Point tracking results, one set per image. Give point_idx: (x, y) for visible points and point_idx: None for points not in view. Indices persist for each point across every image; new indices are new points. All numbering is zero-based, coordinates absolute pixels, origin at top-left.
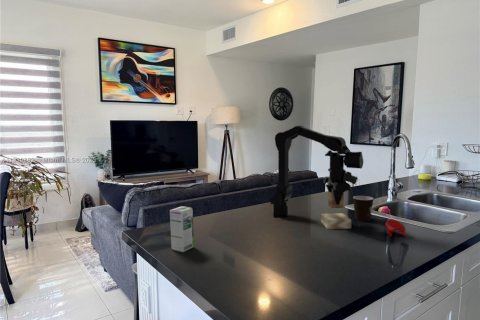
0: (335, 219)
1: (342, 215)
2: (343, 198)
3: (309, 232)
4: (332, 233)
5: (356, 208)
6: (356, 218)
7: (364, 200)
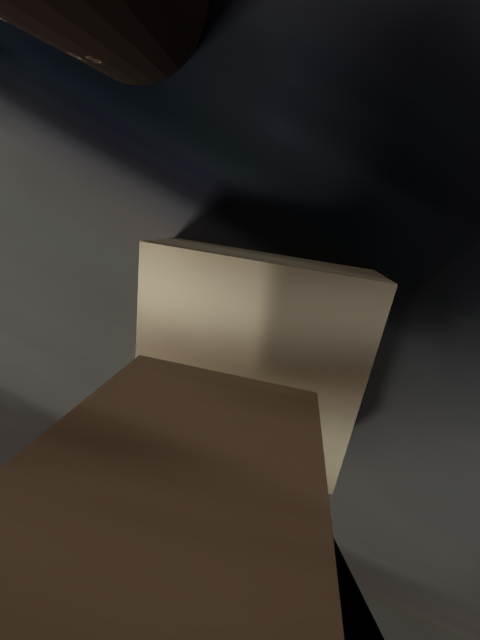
0: (329, 423)
1: (213, 291)
2: (334, 551)
3: (363, 563)
4: (437, 461)
5: (85, 20)
6: (145, 78)
7: None
